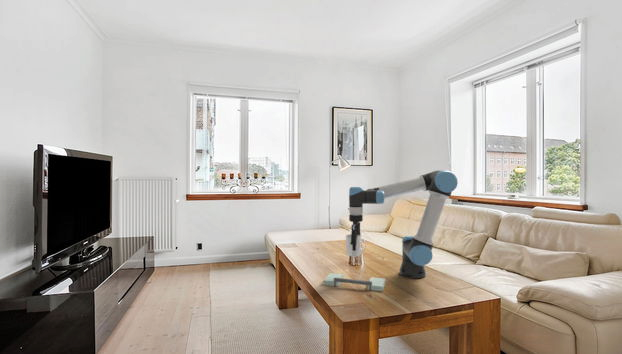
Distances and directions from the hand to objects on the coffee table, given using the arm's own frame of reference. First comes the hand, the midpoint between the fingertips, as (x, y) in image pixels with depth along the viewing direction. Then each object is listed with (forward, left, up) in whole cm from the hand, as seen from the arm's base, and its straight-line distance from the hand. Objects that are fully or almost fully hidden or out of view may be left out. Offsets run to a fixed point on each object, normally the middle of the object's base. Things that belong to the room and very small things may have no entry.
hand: (356, 254), depth 182 cm
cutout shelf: (0, +4, -16) cm, 16 cm away
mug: (0, -1, -1) cm, 1 cm away
